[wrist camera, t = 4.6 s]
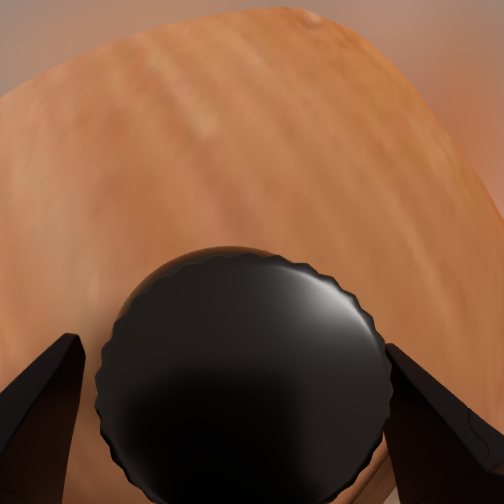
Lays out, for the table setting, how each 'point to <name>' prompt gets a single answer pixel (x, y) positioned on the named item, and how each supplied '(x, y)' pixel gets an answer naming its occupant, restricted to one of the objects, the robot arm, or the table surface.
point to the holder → (380, 487)
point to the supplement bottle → (242, 382)
